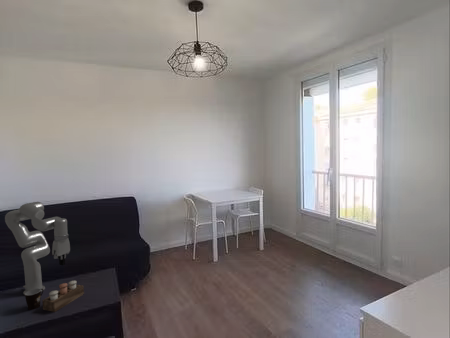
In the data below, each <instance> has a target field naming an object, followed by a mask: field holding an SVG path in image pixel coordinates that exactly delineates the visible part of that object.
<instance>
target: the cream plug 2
mask: <svg viewBox="0 0 450 338" xmlns="http://www.w3.org/2000/svg"><path fill="white" fill-rule="evenodd" d="M67 284H68V286H69V288H70V289H71V290H73V289H75V288H76V285H77V280H70V281H68V282H67Z"/></svg>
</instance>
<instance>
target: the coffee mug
mask: <svg viewBox="0 0 450 338" xmlns="http://www.w3.org/2000/svg"><path fill="white" fill-rule="evenodd" d="M41 290H42V292H41ZM43 294H44V290H43V289H39V288H37V289H32V290H29V291H27V292H26V293H25V295H24V298H25V302H26V306H27V309H28V310H27V311H34V310H36V309H38V308H40V306H41V301H42V300H41V299H42V295H43Z"/></svg>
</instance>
